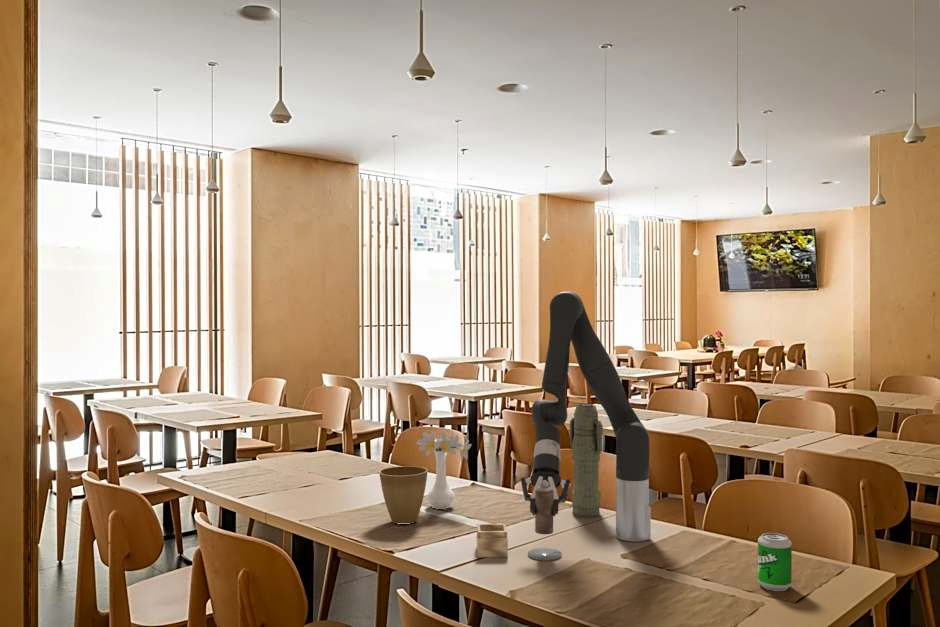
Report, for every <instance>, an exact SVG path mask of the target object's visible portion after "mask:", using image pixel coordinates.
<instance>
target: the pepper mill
mask: <svg viewBox="0 0 940 627" xmlns="http://www.w3.org/2000/svg"><path fill="white" fill-rule="evenodd" d="M534 516H535V518H534V523H535V524H534V527H535V528H534V531H535V533H536V534H539V535H552V534H553V533H554V516H553V490H552V487H551V486H549V483H548V482H547V481H546V480H543V481H541V483H540V486H538V487H537V490H535V515H534Z"/></svg>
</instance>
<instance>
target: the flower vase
mask: <svg viewBox="0 0 940 627" xmlns="http://www.w3.org/2000/svg"><path fill="white" fill-rule="evenodd" d="M469 442H470V440H469V439H468V440H467V441H466V442H465V443H464V444H462V443H460V442H459V435H458V434H454V432H451V436H448V437H447V434H446V432H445V431H444V430H442V431H441V432H440V438H437V432H436V431H433V432H432V433H431V434H429V432H428V431H424V432H423V433H422V438H421V439H418V440H417V441H416V444H417V445H420V446H419V447H418V450H419V451H425V454H424V455H425V456H426V458H427V457H429V456H430V454H431V452H432V450H433V452H434V455H435V461H436V471H435V472H436V473H435V475H436V476H435V481H434V484H433V487H432V488H431V489H430V490H429V491H428V493H427V495H426V500H427V502H428V503H429V504H430V505H431V508H432V509H433V508H436V509H435V510H437V509H444V510H446V509H445V508H449V507H450V508H451V505H452V504H453V503H454V502H455V499H456V495H455V493H454V490H452V489H451V488H450V486H449V484H448V481H447V472H446V469H447V468H446V462H447V461H446V460H447V455H448V453H450V454H452V455H456V454H457V453H456V452H457V451H456V450H459V454H460V455H459V456H460V462H461V463H462V462H463V460H464V459H465V460H467V459H468V458H469V457H468V456H469V455H468V452H467V451H468V450H470V449H471V447H472V443H469ZM450 508H449V509H450Z"/></svg>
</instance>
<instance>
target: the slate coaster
mask: <svg viewBox="0 0 940 627" xmlns="http://www.w3.org/2000/svg"><path fill="white" fill-rule="evenodd" d="M562 555H563V554H562V552H561V551H560V550H558V549H555V548H550V547H549V548H548V547H537V548H533V549H529V550H528V552H527V556H528V558H530V559H531V560H535V561H540V560H542V562H550V561H551V562H552V560H553V561H557V560H559V559H561V558H562V557H563V556H562Z"/></svg>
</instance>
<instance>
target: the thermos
mask: <svg viewBox="0 0 940 627" xmlns="http://www.w3.org/2000/svg"><path fill="white" fill-rule="evenodd" d="M603 430H604V425H603V423H602V421H601V420H599V413H598V410H597V407H596V405H594V404H593V403H579V404H578V405H576V407H575V410H574V413H573V417H572V418H571V419H570V421H569V445H570V448H569V449H570V450H571V455H572V457H571V459H572V461H573V488H572V491H571V506H572V514H573V515H574V516H577V517H580V518H581V517H582V518H593V517H594V518H595V517H599V516H600V514H601V512H600V508H601V493H600V489H599V462H600V460H601V453H602V452H603V451H604V450H603V432H604V431H603Z"/></svg>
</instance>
